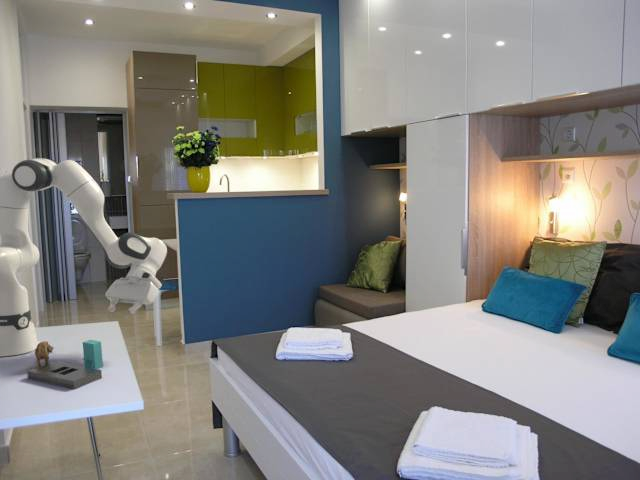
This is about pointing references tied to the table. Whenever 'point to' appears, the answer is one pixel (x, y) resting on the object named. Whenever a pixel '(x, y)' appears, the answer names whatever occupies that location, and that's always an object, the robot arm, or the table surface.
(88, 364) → the teal rectangular prism
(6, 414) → the table surface
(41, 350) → the lion figurine
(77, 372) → the gray rectangular base
